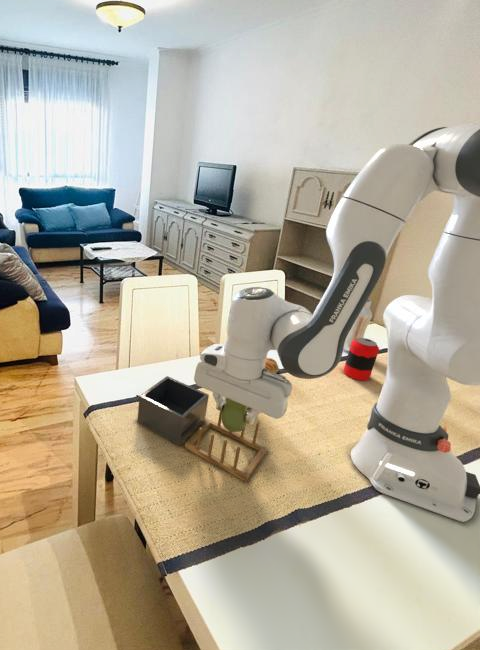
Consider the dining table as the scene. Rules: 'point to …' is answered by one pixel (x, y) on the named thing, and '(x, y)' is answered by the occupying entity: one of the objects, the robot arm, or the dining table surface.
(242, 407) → the pear
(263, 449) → the drying rack
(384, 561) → the dining table surface
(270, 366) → the pastry
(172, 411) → the dark grey open box
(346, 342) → the plastic bottle
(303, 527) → the dining table surface
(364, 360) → the soda can
